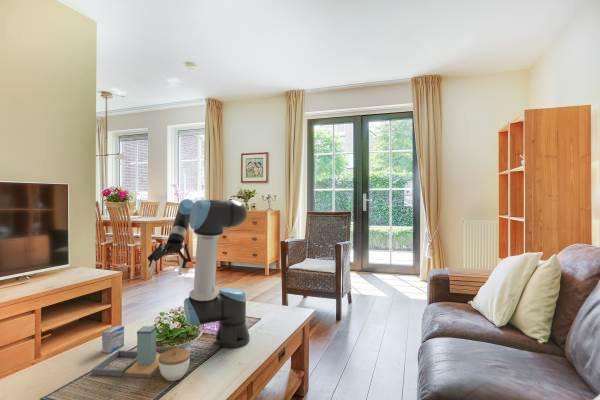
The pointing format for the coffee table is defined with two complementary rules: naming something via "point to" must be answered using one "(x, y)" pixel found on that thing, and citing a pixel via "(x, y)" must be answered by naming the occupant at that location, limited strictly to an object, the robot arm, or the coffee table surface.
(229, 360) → the coffee table surface
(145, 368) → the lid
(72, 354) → the coffee table surface
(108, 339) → the medicine box
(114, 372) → the shallow grey tray
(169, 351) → the lidded jar
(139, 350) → the block
